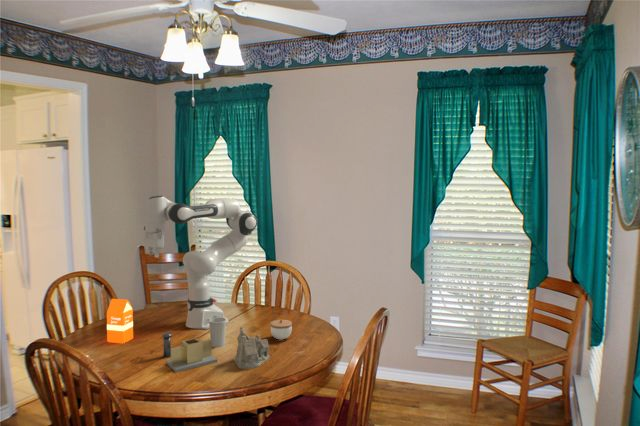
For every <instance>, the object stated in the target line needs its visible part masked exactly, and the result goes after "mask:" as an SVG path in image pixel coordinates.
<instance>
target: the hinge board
mask: <svg viewBox="0 0 640 426" xmlns="http://www.w3.org/2000/svg"><path fill="white" fill-rule="evenodd" d="M165 363H166V365H167V366H169V368H170V369H172V370H173V371H174V372H175V373H179V372H183V371H187V370H192V369H194V368H199V367H202V366H207V365H211V364H214V363H218V358H217V357H215V356H214V355H212V356H207V357H203V358H202V361H199V362H195V363H191V364H186V363H185V362H183V363H179V364H175V365H171V359H168V360H166V361H165Z"/></svg>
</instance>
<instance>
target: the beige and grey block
mask: <svg viewBox="0 0 640 426" xmlns="http://www.w3.org/2000/svg"><path fill="white" fill-rule="evenodd" d="M180 343H181V344H180V345H179V346H175V347H171V357H170V360H171V365H175V364H179V363H183V362H185V363H186V364H191V363H195V362H199V361H202V358H203V357H207V356H213V351H212V350H213V349H212V348H213V347H212V340H211V339H206V340H203V341H201V340H200V339H198V338H197V337H194V338H189V339H185V340H181V342H180Z"/></svg>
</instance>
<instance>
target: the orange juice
mask: <svg viewBox="0 0 640 426" xmlns="http://www.w3.org/2000/svg"><path fill="white" fill-rule="evenodd" d="M133 314H134V311H133V307H132V305H131V303H130V301H129V300H128V299H120V298H119V299H118V298H111V300H110V302H109V306H108V307H107V311H106V333H107V334H106V338H107V339H106V340H107V343H113V344H123V343H124V344H126V343H127V342H129V341H131V340H133V339H134V316H133ZM125 342H126V343H125Z"/></svg>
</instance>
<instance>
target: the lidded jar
mask: <svg viewBox="0 0 640 426" xmlns="http://www.w3.org/2000/svg"><path fill="white" fill-rule="evenodd" d="M269 325H270V332H271V335H272V337H273V338H274V339H275V338H276V339H285V338H287V339H288V338H289V337H290V336H291V334H292V331H293V329H292V328H293V322H292V321H291V320H287V319H276V320H272V321H271V322H270V324H269ZM276 339H275V340H276Z"/></svg>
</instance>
